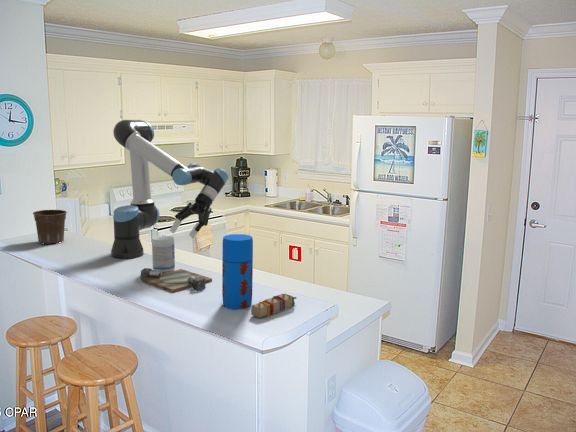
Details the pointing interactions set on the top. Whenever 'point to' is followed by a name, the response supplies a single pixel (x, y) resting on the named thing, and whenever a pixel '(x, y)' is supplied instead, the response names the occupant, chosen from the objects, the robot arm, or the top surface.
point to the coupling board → (174, 280)
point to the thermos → (237, 271)
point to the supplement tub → (163, 254)
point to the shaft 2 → (197, 283)
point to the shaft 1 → (149, 273)
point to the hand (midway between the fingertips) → (181, 234)
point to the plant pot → (50, 225)
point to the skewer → (273, 305)
